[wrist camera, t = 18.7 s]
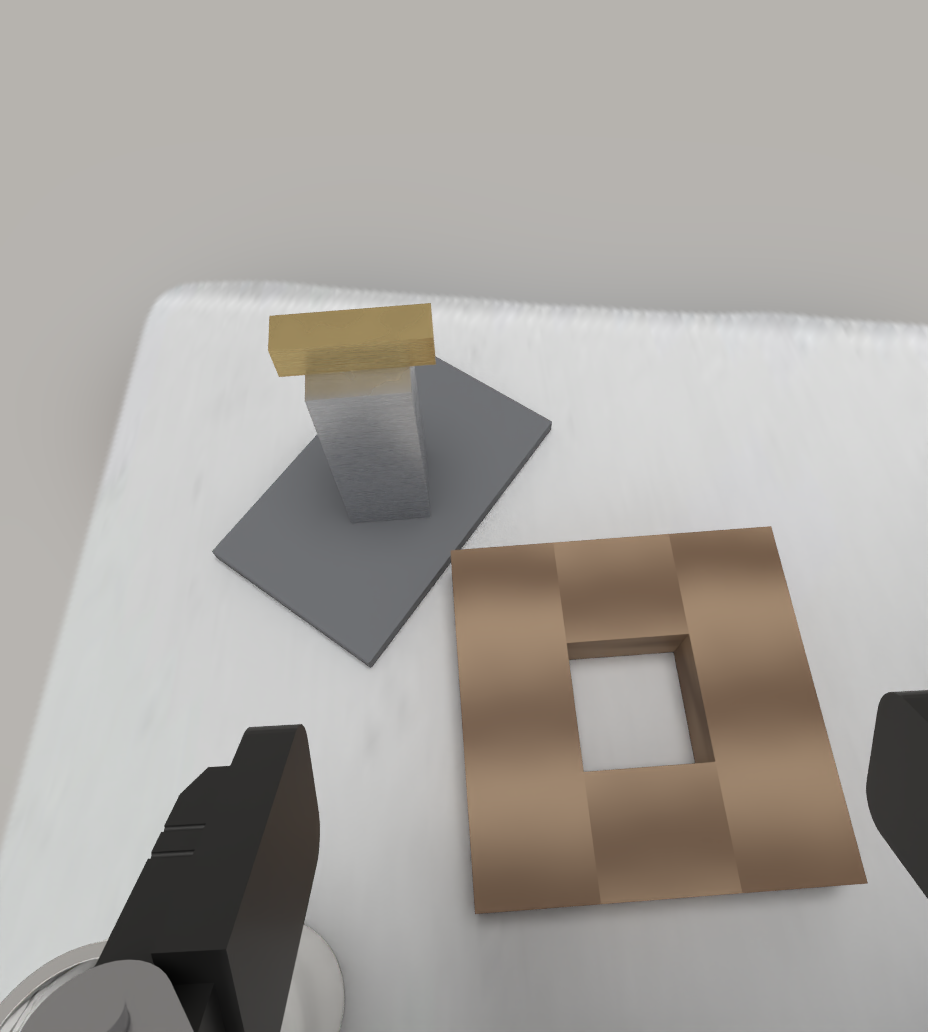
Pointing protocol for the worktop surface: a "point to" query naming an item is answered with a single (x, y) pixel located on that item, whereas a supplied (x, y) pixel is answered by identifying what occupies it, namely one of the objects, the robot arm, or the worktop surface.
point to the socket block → (648, 790)
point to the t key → (364, 401)
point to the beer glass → (307, 1008)
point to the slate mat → (387, 544)
